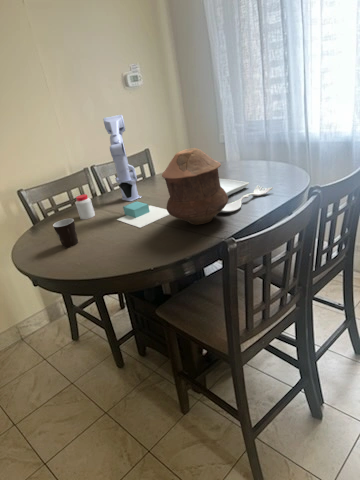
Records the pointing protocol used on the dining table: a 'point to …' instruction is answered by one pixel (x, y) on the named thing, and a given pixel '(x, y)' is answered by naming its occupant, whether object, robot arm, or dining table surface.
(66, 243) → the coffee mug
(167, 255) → the dining table surface
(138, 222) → the mat
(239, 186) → the square plate
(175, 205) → the pottery vessel
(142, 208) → the teal slab
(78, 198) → the pill bottle
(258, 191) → the spoon
